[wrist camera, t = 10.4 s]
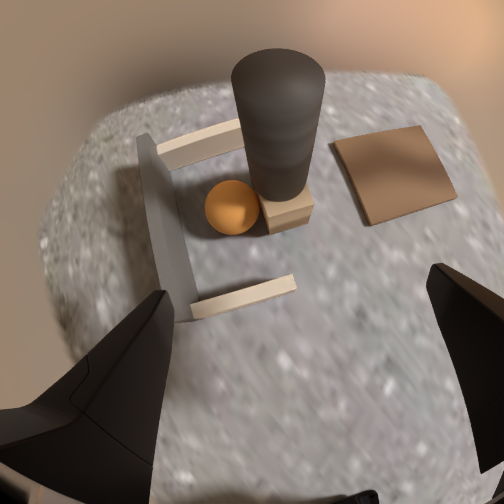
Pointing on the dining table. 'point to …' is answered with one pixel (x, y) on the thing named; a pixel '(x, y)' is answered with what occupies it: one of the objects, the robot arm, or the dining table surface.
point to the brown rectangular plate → (395, 173)
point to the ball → (232, 207)
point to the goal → (169, 226)
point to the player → (279, 130)
